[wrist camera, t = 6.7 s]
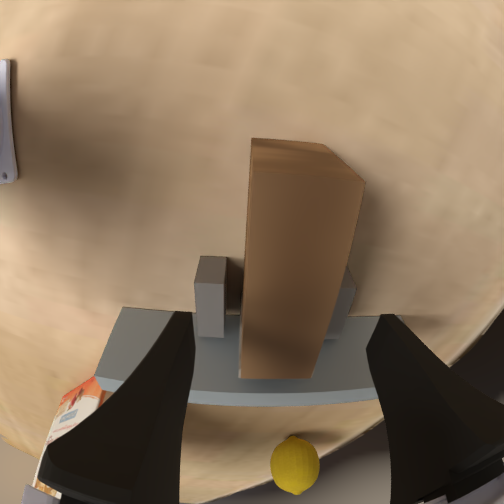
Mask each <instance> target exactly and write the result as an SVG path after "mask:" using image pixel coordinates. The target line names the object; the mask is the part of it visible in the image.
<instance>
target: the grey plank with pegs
mask: <svg viewBox="0 0 504 504" xmlns="http://www.w3.org/2000/svg"><path fill="white" fill-rule="evenodd" d="M226 266H227V257H209V256H200V260H199V264H198V268H197V272H196V277H195V281H194V289H195V303H196V313H192V317H193V327H194V336H195V345H196V353H195V364H194V373H193V378H192V383H191V388H190V393H189V398H188V403H196V404H208V405H225V406H257V407H275V406H308V405H324V404H336V403H347V402H356V401H365V400H372V399H379V398H378V395H377V392H376V389H375V386H374V383H373V380H372V377H371V373H370V370H369V365H368V360H367V354H366V346H367V344H368V342H369V340H370V338H371V336H372V334H373V331H374V329H375V327H376V325H377V322H378V320H379V318H380V316H368V317H347V316H348V313H349V310H350V308H351V305H352V302H353V299H354V296H355V293H356V290H357V287H356V285H355V283H354V281H353V278H352V276H351V274H350V272H349V270H348V268H347V265H346V268H345V272H344V276H343V279H342V283H341V286H340V290H339V293H338V297H337V300H336V304H335V307H334V310H333V313H332V317H331V320H330V323H329V326H328V329H327V332H326V335H325V338H324V341H323V344H322V347H321V350H320V353H319V356H318V359H317V362H316V365H315V370H314V373H313V376H312V378H309V379H244V378H238V376H239V338H240V316H237V315H226ZM173 313H174V312H171V311H159V310H147V309H137V308H127V307H122V310H121V312H120V314H119V316H118V318H117V321H116V323H115V325H114V328H113V330H112V332H111V335H110V337H109V339H108V342H107V344H106V347H105V349H104V352H103V354H102V357H101V359H100V362H99V364H98V367H97V369H96V372H95V374H94V377H95V378H96V380H97V382H98V384H99V385H100V387H101V389H102V390H106V391H111V392H115V391H116V390H117V389H118V388H119V387H120V386H121V385H122V384H123V383H124V381H125V380H126V379H127V378H128V377H129V376H130V375H131V373H132V372H133V371H134V370H135V368H136V367H137V366H138V365H139V363H140V362H141V361H142V359H143V358H144V357H145V356H146V354H147V353H148V351H149V350H150V349H151V347H152V346H153V344H154V343H155V341H156V340H157V338H158V337H159V335H160V334H161V332H162V331H163V329H164V328H165V326H166V324H167V323H168V321H169V319H170V318H171V316H172V314H173ZM396 316H397V317H398V318H399V319H400V320H401V321H402V322H403V323H404V321H403V319H402V318H401V316H400V315H396ZM404 324H405V323H404Z"/></svg>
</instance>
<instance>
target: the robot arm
mask: <svg viewBox="0 0 504 504" xmlns="http://www.w3.org/2000/svg"><path fill="white" fill-rule="evenodd" d="M6 174H7V176H6ZM17 177H18V172H17V165H16V159H15V151H14V143H13V134H12V122H11V106H10V61H9V59H2V60H0V184H5V183H12V182H14V181H15V180H16V179H17ZM195 353H196V345H195V336H194V327H193V317H192V312H181V311H175V312H174V313H173V314H172V316H171V318H170V319H169V321H168V323H167V324H166V326H165V328H164V329H163V331H162V332H161V334H160V335H159V337H158V338H157V340H156V341H155V343H154V344H153V346H152V347H151V349H150V350H149V351H148V353H147V354H146V356H145V357H144V358H143V359H142V361H141V362H140V363H139V365H138V366H137V367H136V368H135V370H134V371H133V372H132V373H131V375H130V376H129V377H128V378H127V379H126V380H125V381H124V383H123V384H122V385H121V386H120V387H119V388H118V389H117V390H116V391H115V392H114V393H113V394H112V395H111V396H110V397H109V398H108V399H107V400H106V401H105V402H104V403H103V404H102V405H101V406H100V407H99V408H97V409H96V410H95V411H94V412H93V413H92V414H90V415H89V416H88V417H87V418H85V419H84V420H83V421H82V422H80V423H79V424H78V425H76V426H75V427H74V428H72V429H71V430H70V431H68V432H67V433H65V434H63V435H62V436H60V437H59V438H57V439H56V440H54V441H53V442H51V443H49V444H48V445H47V447H46V450H45V452H44V454H43V457H42V460H41V464H40V468H39V471H38V475H37V478H38V480H39V481H40V482H42V483H44V484H45V485H47V486H49V487H50V488H52V489H54V490H56V491H58V492H60V493H62V494H61V499H58V498H56V497H54V496H52V495H49V494H47V493H45V492H43V491H41V490H38V489H36V488H34V487H32V486H30V485H25V489H24V493H23V497H22V502H21V504H179V483H180V458H181V442H182V431H183V424H184V418H185V413H186V408H187V403H188V398H189V393H190V388H191V383H192V378H193V373H194V364H195ZM366 354H367V360H368V365H369V370H370V373H371V377H372V380H373V383H374V386H375V389H376V392H377V395H378V398H379V402H380V405H381V408H382V411H383V415H384V419H385V422H386V428H387V434H388V441H389V449H390V459H391V500H390V504H418V503H421V502H424V504H504V462H503V461H502V458H503V457H504V405H503V404H501V403H499V402H498V401H496V400H494V399H492V398H490V397H488V396H487V395H485V394H483V393H482V392H481V391H479V390H478V389H476V388H474V387H473V386H471V385H470V384H469V383H468V382H466V381H465V380H464V379H462V378H461V377H460V376H459V375H457V374H456V373H455V372H453V371H452V370H451V369H450V368H449V367H448V366H447V365H446V364H445V363H443V362H442V361H441V360H440V359H439V358H438V357H437V356H436V355H435V354H434V353H433V352H432V351H431V350H430V349H429V348H428V347H427V346H426V345H425V344H424V343H423V342H422V341H421V340H420V339H419V338H418V337H417V336H416V335H415V334H414V333H413V332H412V331H411V330H410V329H409V328H408V327H407V326H406V325H405V324H404V323H403V322H402V321H401V320H400V319H399V318H398V317H397V316H396V315H395V314H381V316H380V318H379V320H378V322H377V325H376V327H375V329H374V331H373V334H372V336H371V338H370V340H369V342H368V344H367V346H366Z"/></svg>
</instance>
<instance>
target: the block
mask: <svg viewBox="0 0 504 504" xmlns="http://www.w3.org/2000/svg"><path fill="white" fill-rule="evenodd" d="M365 183H366V182H365V181H364V180H363V179H362V178H361V177H360V176H359V175H357V174H356V173H355V172H354V171H353V170H352V169H351V168H350V167H349V166H348V165H346V164H345V163H344V162H343V161H342V160H341V159H340V158H338V157H337V156H336V155H335V154H334V153H333V152H332V151H330V150H329V149H328V148H327V147H326V146H324V145H323V144H317V143H308V142H298V141H287V140H275V139H261V138H252V139H251V156H250V172H249V189H248V206H247V223H246V241H245V259H244V277H243V293H241V305H240V338H239V376H238V378H244V379H309V378H312V376H313V373H314V370H315V365H316V362H317V359H318V356H319V353H320V350H321V347H322V344H323V341H324V338H325V335H326V332H327V329H328V326H329V323H330V320H331V317H332V313H333V310H334V307H335V304H336V300H337V297H338V293H339V290H340V286H341V283H342V279H343V276H344V272H345V268H346V265H347V261H348V257H349V253H350V249H351V245H352V241H353V237H354V233H355V229H356V225H357V220H358V216H359V211H360V207H361V202H362V197H363V193H364V188H365Z"/></svg>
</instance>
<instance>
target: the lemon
mask: <svg viewBox="0 0 504 504" xmlns="http://www.w3.org/2000/svg"><path fill="white" fill-rule="evenodd" d="M270 467H271V473H272V476H273V479H274V481H275V483H276V484H277V485H278V486H279V487H280V488H281V489H283V490H285V491H288V492H292V493H293V494H294V495H298V494H301V493H302V491H304V490H306V489H308V488H309V487H311V486H312V485H313V484H314V482H315V481H316V479H317V477H318V473H319V458H318V454H317V452H316V450H315V448H314V447H313V446H312V445H311V444H310V443H309V442H307V441H305V440H303V439H298V438H297V437H296V436H290V437H289V438H288V439H287V440H286V441H283V442H282V443H280V444H279V445H278V446H277V447H276V448H275V450H274V451H273V454H272V456H271V462H270Z"/></svg>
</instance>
